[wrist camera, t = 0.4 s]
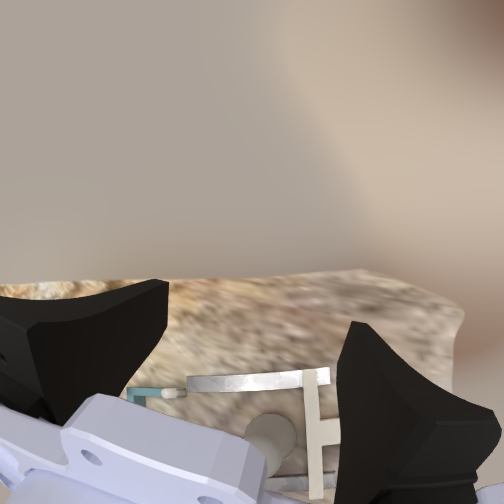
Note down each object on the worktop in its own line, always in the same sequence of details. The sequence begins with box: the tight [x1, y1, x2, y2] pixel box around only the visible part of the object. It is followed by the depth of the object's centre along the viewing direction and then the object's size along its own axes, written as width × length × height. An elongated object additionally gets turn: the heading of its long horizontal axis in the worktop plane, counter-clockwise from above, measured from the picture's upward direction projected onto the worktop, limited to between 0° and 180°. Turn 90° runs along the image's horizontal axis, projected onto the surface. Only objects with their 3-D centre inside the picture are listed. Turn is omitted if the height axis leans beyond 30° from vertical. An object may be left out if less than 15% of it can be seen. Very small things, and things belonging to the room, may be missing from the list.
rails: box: [187, 367, 336, 492], centre depth 33 cm, size 15×17×1 cm
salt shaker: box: [242, 414, 297, 478], centre depth 27 cm, size 6×6×13 cm
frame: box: [127, 387, 187, 407], centre depth 33 cm, size 12×7×5 cm, turn 4°
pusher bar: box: [302, 369, 341, 500], centre depth 28 cm, size 15×8×8 cm, turn 4°
